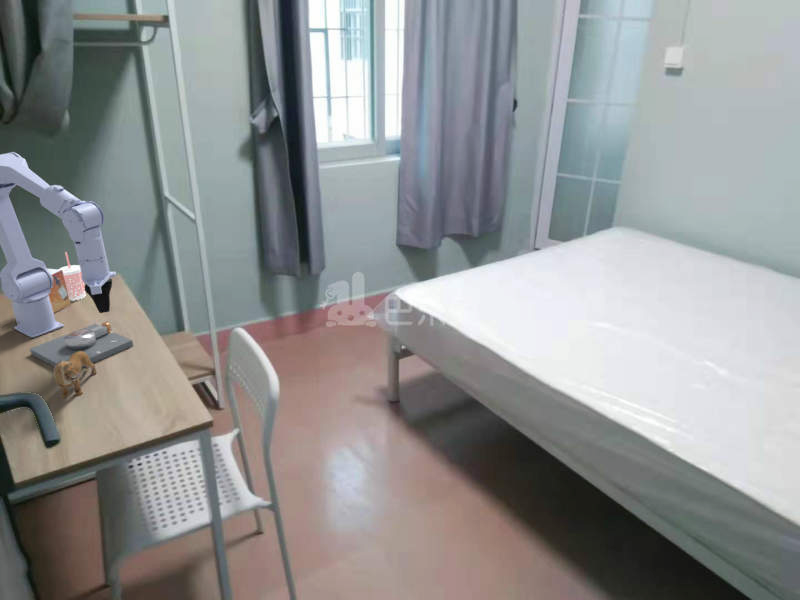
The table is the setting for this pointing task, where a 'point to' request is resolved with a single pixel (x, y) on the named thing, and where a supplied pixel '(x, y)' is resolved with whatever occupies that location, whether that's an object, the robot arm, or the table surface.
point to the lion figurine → (72, 372)
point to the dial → (86, 337)
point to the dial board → (100, 350)
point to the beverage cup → (73, 281)
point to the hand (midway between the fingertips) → (104, 311)
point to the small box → (58, 291)
